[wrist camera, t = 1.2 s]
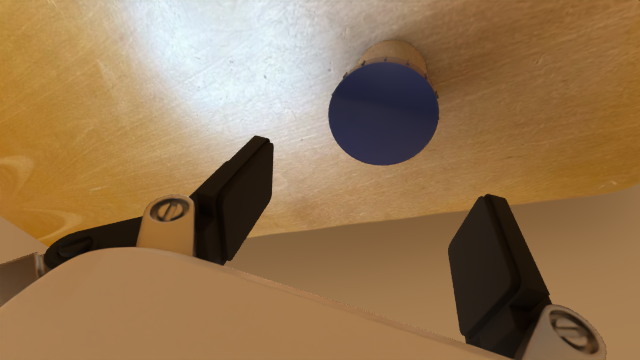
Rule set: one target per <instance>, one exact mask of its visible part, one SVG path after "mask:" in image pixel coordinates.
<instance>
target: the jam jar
mask: <svg viewBox="0 0 640 360" xmlns="http://www.w3.org/2000/svg"><path fill="white" fill-rule="evenodd" d="M385 55H387V57H397V58H401V59H405V60H409V62H411V63H413V64H415V65H416V66H418V67H419V68H420V69H421V70H422V71H424V73H427V69H426V64H425V61H424V59H423V57H422V55H421V54H420V52H419V51H418V50H417V49H416V48H415V47H414V46H412V45H411V44H409V43H407V42H404V41H400V40H386V41H382V42H379V43H377V44H375V45H373V46H372V47H370V48H369V49H368V50H367V51H366V52H365V53H364V54H363V55H362V57H361V58H360V59H359V61H358V62H357V64H356V65H355V66H357V65H358V64H360V63H362V62H363V60H365V61H366V60H369V59H372V58H377V57H385ZM427 75H428V73H427Z"/></svg>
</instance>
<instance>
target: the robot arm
mask: <svg viewBox="0 0 640 360" xmlns="http://www.w3.org/2000/svg"><path fill="white" fill-rule="evenodd" d="M273 150H274V145H273V143H270V140H269V139H268V138H264V137H260V136H254V137H253V138H252V139H251V140H250V141H249V142H248V143H247V144H246V145H244V146H243V147H242V148H241V149H240V150H239V151H238V152H237V153H236V154H235V155H234V156H233V157H232V158H231V159H230V160H229V161H226V162H225V163H224V164H223V165H222V166H221V167H220V168H219V169H217V170H216V171H215V172H214V173H213V174H212V175H211V176H210V177H209V178H208V179H207V180H206V181H205V182H204V183H203V184H202V185H201V186H200V187H199V188H198V189H197V190H196V191H195V192H193V193H192V194H191V195H190V196H189V197H187V196H184V195H167V196H163V197H160V198H157V199H156V200H154V201H152V202H151V203H150V204H149V205H148V206H147V207H146V209H145V211H144V214H143V216H142V217H137V218H133V219H129V220H125V221H120V222H116V223H112V224H108V225H103V226H99V227H95V228H91V229H86V230H82V231H78V232H75V233H72V234H69V235H67V236H65V237H63V238H61V239H59V240H58V241H56V242H55V243H53V244H52V245H51V246H50V247H49V248H48V249H47V251H46V253H45V254H43V255H39V254H38V253H37V252H35V253H32V254H29V255H26V256H23V257H21V258H17V259H15V260H12V261H9V262H6V263H3V264H0V360H606V354H607V353H606V345H605V343H604V341H603V339H602V337H601V336H600V334H599V333H598V332H597V330H596V329H595V328H594V327H593V326H592V325H591V324H590V323H589V322H588V321H587V320H585V319H584V318H583V317H582V316H580V315H579V314H578V313H576V312H574V311H573V310H571V309H569V308H566V307H564V306H561V305H555V304H552V303H551V300H550V298H549V295H550V294H549V292H548V290H547V287H546V285H545V283H544V281H543V279H542V277H541V274H540V272H539V270H538V268H537V266H536V264H535V261H534V259H533V257H532V255H531V252H530V251H529V248H528V246H527V244H526V242H525V239H524V237H523V235H522V233H521V231H520V229H519V226H518V224H517V222H516V220H515V218H514V216H513V214H512V211H511V209H510V207H509V205H508V203H507V200H506V199H505V198H502V197H498V196H494V195H490V194H486V195H485V196H484V197H483V196H480V197H479V198H478V199H477V201H476V202H475V204H474V206H473V207H472V209H471V210H470V212H469V214H468V216H467V217H466V218H465V220H464V222H463V223H462V225H461V227H460V228H459V230H458V231H457V233H456V235H455V236H454V238H453V239H452V241H451V243H450V245H449V248H448V255H449V261H450V268H451V275H452V282H453V288H454V295H455V301H456V307H457V314H458V321H459V328H460V332H461V334H462V335H464V336H465V339H466V343H463V342H460V341H457V340H454V339H451V338H447V337H445V336H442V335H438V334H435V333H432V332H429V331H426V330H423V329H420V328H417V327H414V326H411V325H408V324H405V323H402V322H399V321H396V320H393V319H389V318H386V317H383V316H380V315H377V314H374V313H371V312H367V311H365V310H361V309H358V308H355V307H352V306H349V305H346V304H343V303H340V302H336V301H333V300H330V299H327V298H324V297H321V296H317V295H315V294H311V293H308V292H305V291H302V290H299V289H296V288H292V287H289V286H286V285H283V284H280V283H276V282H274V281H270V280H267V279H264V278H261V277H258V276H254V275H251V274H248V273H244V272H242V271H238V270H235V269H232V268H229V267H225V266H224V264H225V263H226V261H227V260H228V261H231V260H232V259H233V257H234V256H235V254H236V253H237V251H238V250H239V248H240V247H241V245H242V243H243V241H244V240H245V239H246V237H247V236H248V234H249V233H250V231H251V230H252V228H253V226H254V225H255V223H256V222H257V220H258V219H259V217H260V216H261V214H262V212H263V211H264V209H265V208H266V206H267V205H268V203H269V202H270V199H271V196H272V176H273Z"/></svg>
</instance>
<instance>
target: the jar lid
mask: <svg viewBox="0 0 640 360" xmlns="http://www.w3.org/2000/svg"><path fill="white" fill-rule="evenodd" d="M437 98H438V95H437V91H435V89H434V87H433V85H432V82H431V81H430V79H429V78H428V75H427V73H424V71H422V70H421V69H420V68H419V67H418V66H416V65H415V64H413V63H411V62H409V60H405V59H401V58H397V57H387V55H385V57H377V58H372V59H369V60H366V61H365V60H363V62H362V63H360V64H358V65H357V66H355V67H354V68H353V69H351V70H350V71H349V72H348V73H347V72H346V73H345V75H344V76H343V79H342V81H341V82H340V83H339V85H338V86H337V88H336V89H335V91H334V92H333V94H332V98H331V100H330V105H329V112H328V118H329V125H330V129H331V132H332V134H333V137H334V139H335V140H336V142H337V143H338V145H339V146H340V147H341V148H342V149H343V150H344V151H345V152H346V153H347V154H349V155H350V156H351V157H353V158H355V159H357V160H359V161H361V162H364V163H367V164H372V165H393V164H397V163H401V162H403V161H406V160H408V159H410V158H412V157H414V156H415V155H416V154H418V153H419V152H420V151H421V150H423V149H424V148H425V146H426V145H427V144H428V143H429V141H430V140H431V138H432V137H433V135H434V133H435V130H436V127H437V124H438V120H439V107H438V101H437Z"/></svg>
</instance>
